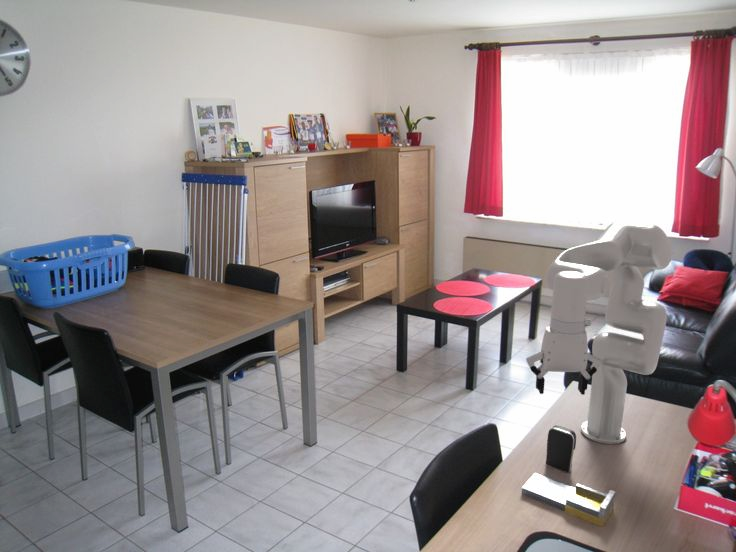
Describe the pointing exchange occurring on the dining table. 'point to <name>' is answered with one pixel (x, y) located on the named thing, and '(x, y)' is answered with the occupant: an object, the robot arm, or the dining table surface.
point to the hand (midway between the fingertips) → (560, 391)
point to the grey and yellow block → (571, 498)
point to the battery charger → (560, 448)
